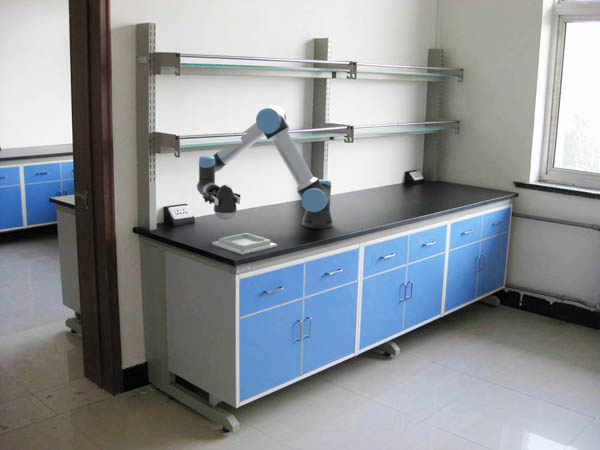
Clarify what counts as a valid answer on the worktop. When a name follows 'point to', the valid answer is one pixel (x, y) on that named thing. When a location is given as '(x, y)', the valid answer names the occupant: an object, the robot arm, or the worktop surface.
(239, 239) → the square tray
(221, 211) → the dark grey rounded dome
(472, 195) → the worktop surface
